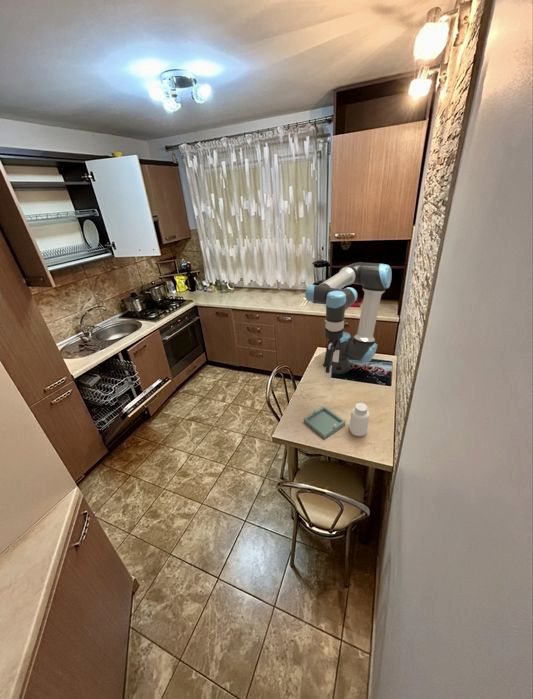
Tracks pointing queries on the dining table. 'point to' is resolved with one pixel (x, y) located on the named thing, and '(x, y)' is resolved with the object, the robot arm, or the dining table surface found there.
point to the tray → (324, 422)
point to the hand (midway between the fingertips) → (331, 369)
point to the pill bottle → (359, 419)
